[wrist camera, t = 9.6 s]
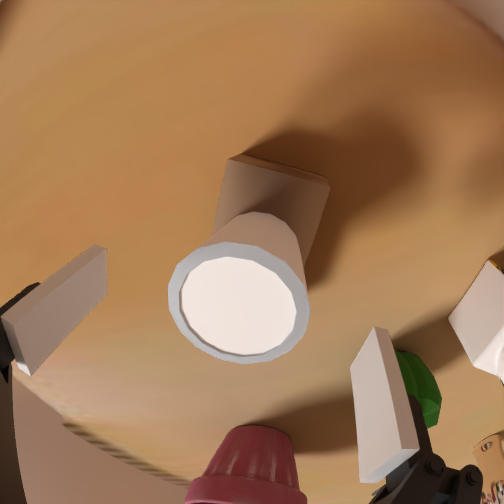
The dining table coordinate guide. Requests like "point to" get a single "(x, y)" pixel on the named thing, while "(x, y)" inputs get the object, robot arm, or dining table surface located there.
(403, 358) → the bell pepper
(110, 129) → the dining table surface
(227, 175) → the walnut base block
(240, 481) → the plant pot
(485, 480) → the beer glass
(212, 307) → the white cup
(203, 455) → the dining table surface
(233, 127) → the dining table surface
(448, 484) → the robot arm
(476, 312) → the medicine bottle
